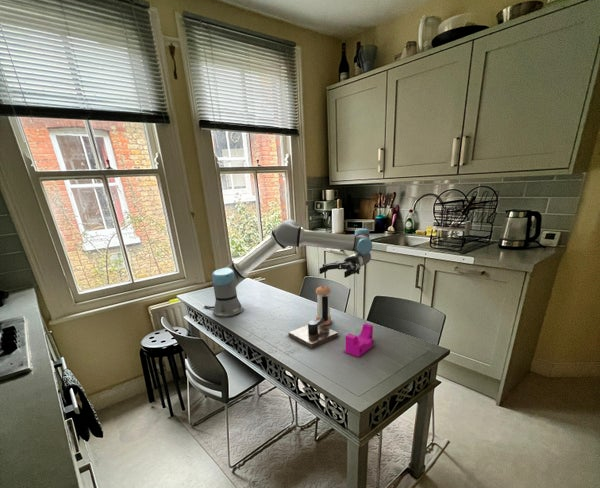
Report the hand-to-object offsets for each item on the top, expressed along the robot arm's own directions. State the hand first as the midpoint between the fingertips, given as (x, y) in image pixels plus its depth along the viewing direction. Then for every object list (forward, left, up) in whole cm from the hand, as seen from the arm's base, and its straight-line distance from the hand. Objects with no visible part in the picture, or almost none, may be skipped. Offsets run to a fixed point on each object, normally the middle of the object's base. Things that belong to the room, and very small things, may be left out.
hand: (332, 272), depth 148 cm
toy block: (+28, -10, -25) cm, 39 cm away
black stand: (+5, -14, -23) cm, 27 cm away
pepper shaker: (-2, -4, -15) cm, 16 cm away
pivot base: (+6, -18, -25) cm, 31 cm away
